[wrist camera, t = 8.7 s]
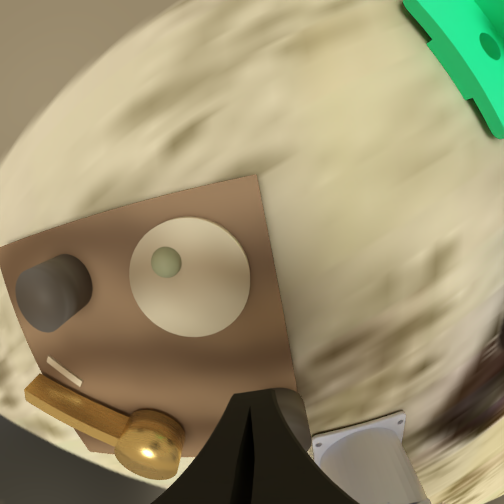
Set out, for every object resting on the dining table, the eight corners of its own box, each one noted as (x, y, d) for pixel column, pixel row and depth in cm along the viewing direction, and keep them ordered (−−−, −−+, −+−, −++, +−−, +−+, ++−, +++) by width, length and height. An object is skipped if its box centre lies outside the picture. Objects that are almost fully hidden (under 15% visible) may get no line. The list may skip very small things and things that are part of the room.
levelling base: (307, 430, 21) (316, 477, 16) (95, 441, 22) (76, 477, 17) (261, 173, 17) (264, 170, 12) (7, 244, 18) (-37, 260, 13)
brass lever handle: (190, 422, 18) (183, 455, 15) (179, 456, 19) (171, 486, 16) (39, 357, 18) (16, 379, 15) (42, 396, 19) (24, 418, 15)
